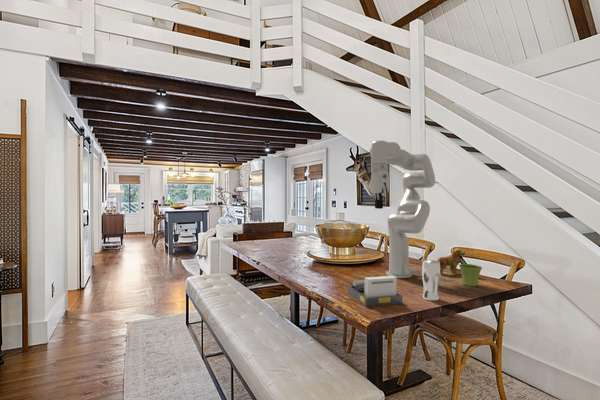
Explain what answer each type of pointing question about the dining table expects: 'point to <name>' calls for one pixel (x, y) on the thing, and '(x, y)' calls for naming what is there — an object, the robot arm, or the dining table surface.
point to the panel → (380, 286)
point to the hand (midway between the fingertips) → (378, 208)
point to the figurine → (451, 261)
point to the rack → (358, 294)
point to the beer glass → (430, 279)
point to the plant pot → (470, 274)
